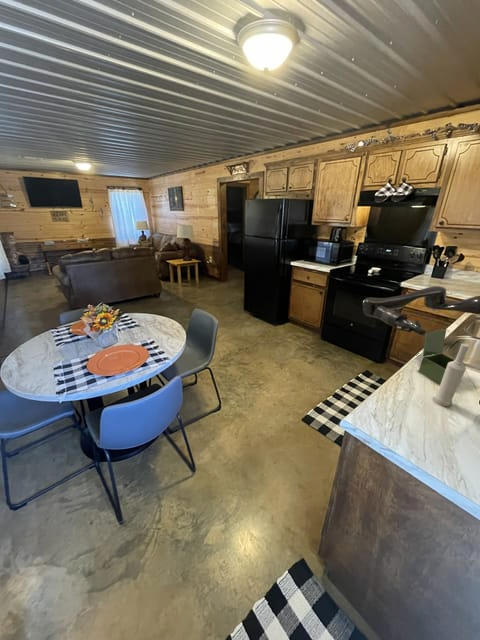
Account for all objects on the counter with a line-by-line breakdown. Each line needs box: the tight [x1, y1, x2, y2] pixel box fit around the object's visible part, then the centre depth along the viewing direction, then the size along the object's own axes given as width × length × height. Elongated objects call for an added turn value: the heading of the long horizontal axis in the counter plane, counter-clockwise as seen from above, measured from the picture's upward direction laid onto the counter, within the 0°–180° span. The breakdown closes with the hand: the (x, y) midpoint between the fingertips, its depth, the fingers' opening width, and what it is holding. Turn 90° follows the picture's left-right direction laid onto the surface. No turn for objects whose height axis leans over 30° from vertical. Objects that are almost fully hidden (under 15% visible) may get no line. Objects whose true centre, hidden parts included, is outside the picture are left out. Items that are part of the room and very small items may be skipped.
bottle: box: [434, 343, 470, 407], centre depth 95 cm, size 5×5×25 cm
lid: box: [422, 328, 447, 358], centre depth 115 cm, size 11×11×1 cm
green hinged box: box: [418, 353, 466, 386], centre depth 114 cm, size 10×11×8 cm
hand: (423, 333), depth 119 cm, fingers closed
